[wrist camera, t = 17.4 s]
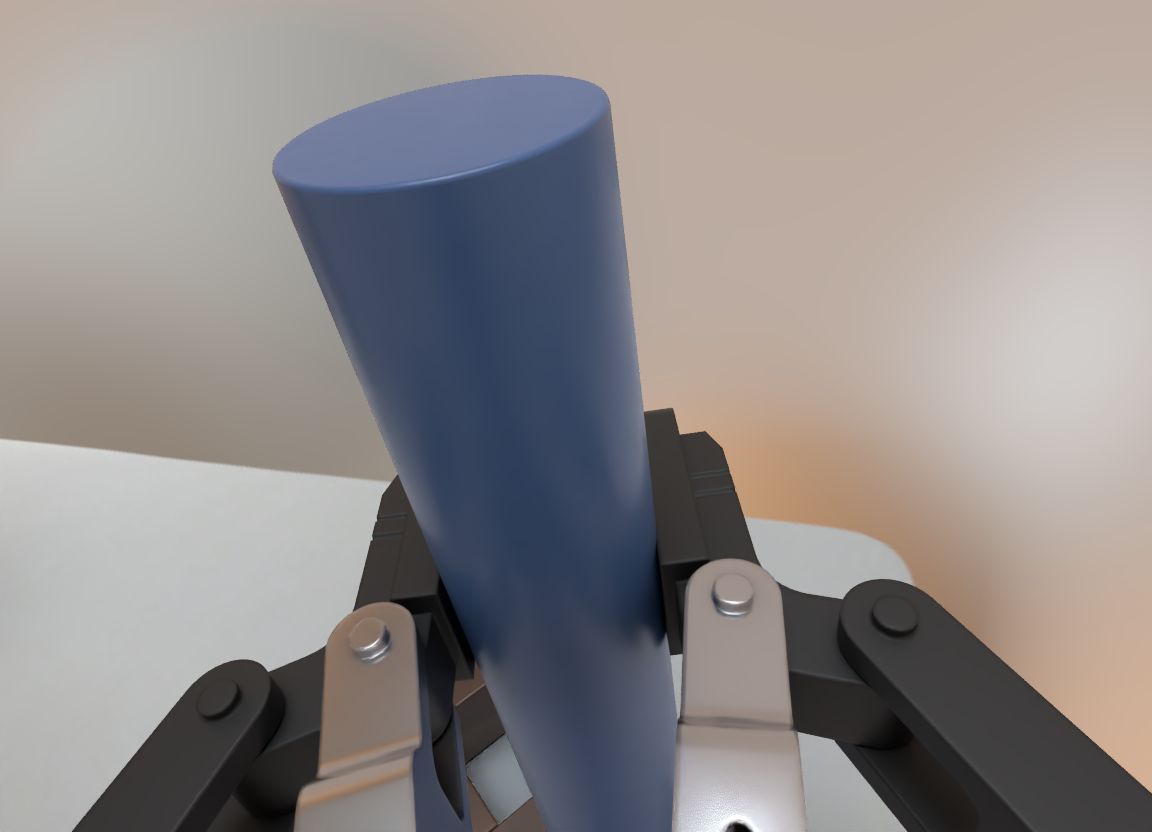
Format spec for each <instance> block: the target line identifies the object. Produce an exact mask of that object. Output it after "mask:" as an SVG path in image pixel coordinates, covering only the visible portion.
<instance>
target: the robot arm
mask: <svg viewBox="0 0 1152 832" xmlns="http://www.w3.org/2000/svg"><path fill="white" fill-rule="evenodd" d="M644 419H645V428H646V438H647V447H648V456H649V465H650V474H651V484H652V493H653V502H654V511H655V520H656V535H657V540H656V545H657V554H658V563H659V572H660V581H661V590H662V599H663V608H664V617H665V626H666V634H667V640H668V646H669V652H670V655H678V654H683V661H682V686H681V710H680V718H679V719H678V722H677V731H676V748H675V771H674V795H673V818H672V832H807V822H806V811H805V800H804V789H803V779H802V768H801V757H800V748H799V740H798V734H797V732H801V733H805V734H810V735H815V736H819V737H824V738H828V739H833V740H835V742H836V743H837V744H838V746H839V747H840V748H841V749H842V751H843V752H844V753H845V754H846V756H847V757H848V758H849V759H850V761H851V762H852V763H853V764H854V766H855V767H856V768H857V769H858V771H859V772H860V773H861V774H862V776H863V777H864V778H865V779H866V781H867V782H868V783H869V784H870V786H871V787H872V788H873V789H874V791H875V792H876V793H877V794H878V796H879V797H880V798H881V799H882V801H883V802H884V803H885V804H886V805H887V807H888V808H889V809H890V810H891V812H892V813H893V814H894V815H895V817H896V818H897V819H898V820H899V822H900V823H901V824H902V825H903V827H904V828H905V829H906V830H907V832H1152V793H1151V792H1149V791H1148V790H1147V789H1146V788H1145V787H1144V786H1142V785H1141V784H1140V783H1139V782H1138V781H1137V780H1136V779H1135V778H1134V777H1133V776H1131V775H1130V774H1129V773H1128V772H1127V771H1126V770H1125V769H1124V768H1122V767H1121V766H1120V765H1119V764H1118V763H1117V762H1116V761H1115V760H1114V759H1112V758H1111V757H1110V756H1109V755H1108V754H1107V753H1106V752H1104V751H1103V750H1102V749H1101V748H1100V747H1099V746H1098V745H1097V744H1096V743H1094V742H1093V741H1092V740H1091V739H1090V738H1089V737H1088V736H1086V735H1085V734H1084V733H1083V732H1082V731H1081V730H1080V729H1079V728H1078V727H1076V726H1075V725H1074V724H1073V723H1072V722H1071V721H1070V720H1069V719H1068V718H1066V717H1065V716H1064V715H1063V714H1062V713H1061V712H1060V711H1058V710H1057V709H1056V708H1055V707H1054V706H1053V705H1052V704H1051V703H1050V702H1048V701H1047V700H1046V699H1045V698H1044V697H1043V696H1042V695H1041V694H1039V693H1038V692H1037V691H1036V690H1035V689H1034V688H1033V687H1032V686H1030V685H1029V684H1028V683H1027V682H1026V681H1025V680H1024V679H1023V678H1022V677H1020V676H1019V675H1018V674H1017V673H1016V672H1015V671H1014V670H1013V669H1011V668H1010V667H1009V666H1008V665H1007V664H1006V663H1005V662H1004V661H1002V660H1001V659H1000V658H999V657H998V656H997V655H996V654H995V653H993V652H992V651H991V650H990V649H989V648H988V647H987V646H986V645H984V644H983V643H982V642H981V641H980V640H979V639H978V638H977V637H976V636H974V635H973V634H972V633H971V632H970V631H969V630H968V629H966V628H965V627H964V626H963V625H962V624H961V623H960V622H959V621H958V620H956V619H955V618H954V617H953V616H952V615H951V614H950V613H948V612H947V611H946V610H945V609H944V608H943V607H942V606H941V605H940V604H938V603H937V602H936V601H935V600H934V599H933V598H932V597H930V596H929V595H928V594H926V593H925V592H923V591H922V590H920V589H918V588H917V587H914V586H912V585H910V584H907V583H904V582H901V581H896V580H890V579H877V580H870V581H866V582H863V583H861V584H858V585H856V586H855V587H853V588H852V589H851V590H850V591H849V592H848V593H847V594H846V595H845V597H844V599H837V598H831V597H824V596H818V595H812V594H806V593H802V592H798V591H795V590H792V589H790V588H788V587H786V586H784V585H782V584H780V583H779V582H777V581H775V579H774V578H773V577H772V576H771V575H770V573H769V572H767V571H766V570H765V569H763V568H762V566H761V565H760V563H759V561H758V559H757V556H756V554H755V550H754V547H753V544H752V541H751V538H750V534H749V531H748V528H747V525H746V522H745V518H744V515H743V512H742V509H741V506H740V502H739V499H738V496H737V493H736V492H735V486H734V483H733V480H732V477H731V474H730V471H729V467H728V464H727V461H726V458H725V455H724V452H723V448H722V447H721V446H720V445H719V444H718V443H717V442H716V441H715V440H713V438H712V437H710V435H708V434H707V432H705V431H704V432H697V433H690V434H682V435H680V434H679V431H678V426H677V423H676V418H675V414H674V410H673V408H667V409H660V410H653V411H646V412H644ZM372 537H373V540H372V541H371V543H370V547H369V551H368V555H367V559H366V563H365V567H364V571H363V575H362V579H361V583H360V587H359V591H358V595H357V599H356V603H355V607H354V610H353V612H352V613H351V614H349V615H348V616H347V617H345V618H344V619H343V620H342V621H341V622H340V623H339V624H338V625H337V626H336V628H335V629H334V631H333V632H332V634H331V635H330V637H329V639H328V642H327V645H326V646H324V647H323V648H321V649H320V650H318V651H316V652H315V653H312V654H310V655H308V656H306V657H304V658H301V659H299V660H297V661H294V662H292V663H289V664H287V665H285V666H282V667H280V668H277V669H275V670H273V671H270V672H268V671H267V670H266V669H265V668H264V667H263V666H262V665H261V664H260V663H258V662H255V661H252V660H234V661H230V662H227V663H224V664H221V665H219V666H217V667H215V668H213V669H212V670H210V671H208V672H207V673H205V674H204V675H203V676H201V677H200V678H199V679H198V680H197V681H196V682H194V683H193V684H192V685H191V687H190V688H189V689H188V690H187V691H186V692H185V694H184V695H183V696H182V697H181V698H180V700H179V701H178V702H177V703H176V705H175V706H174V707H173V708H172V709H171V711H170V712H169V713H168V714H167V716H166V717H165V718H164V719H163V720H162V722H161V723H160V724H159V725H158V727H157V728H156V729H155V730H154V731H153V733H152V734H151V735H150V736H149V738H148V739H147V740H146V741H145V743H144V744H143V745H142V746H141V747H140V749H139V750H138V751H137V752H136V754H135V755H134V756H133V757H132V758H131V760H130V761H129V762H128V763H127V765H126V766H125V767H124V768H123V769H122V771H121V772H120V773H119V774H118V776H117V777H116V778H115V779H114V780H113V782H112V783H111V784H110V785H109V787H108V788H107V789H106V790H105V792H104V793H103V794H102V795H101V796H100V798H99V799H98V800H97V801H96V803H95V804H94V805H93V806H92V807H91V809H90V810H89V811H88V812H87V814H86V815H85V816H84V817H83V818H82V820H81V821H80V822H79V823H78V825H77V826H76V827H75V828H74V829H73V831H72V832H473V828H472V821H471V812H470V803H469V794H468V785H467V776H466V767H465V758H464V749H463V739H462V730H461V721H460V715H459V712H458V710H457V707H456V705H455V703H454V701H453V695H454V685H455V682H456V681H464V680H472V679H474V671H475V658H474V655H473V653H472V650H471V648H470V646H469V643H468V641H467V638H466V636H465V634H464V631H463V629H462V626H461V624H460V622H459V619H458V617H457V614H456V612H455V610H454V607H453V605H452V603H451V600H450V598H449V595H448V593H447V591H446V588H445V586H444V583H443V581H442V579H441V576H440V574H439V571H438V569H437V567H436V564H435V562H434V559H433V557H432V555H431V552H430V550H429V547H428V545H427V543H426V540H425V538H424V535H423V533H422V531H421V528H420V526H419V523H418V521H417V519H416V516H415V514H414V511H413V509H412V507H411V504H410V502H409V499H408V497H407V495H406V492H405V490H404V487H403V485H402V483H401V480H400V478H399V475H397V476H396V477H395V479H394V480H393V481H392V483H391V484H390V485H389V487H388V488H387V489H386V491H385V492H384V493H383V495H382V498H381V502H380V506H379V510H378V514H377V522H375V526H374V530H373V535H372Z"/></svg>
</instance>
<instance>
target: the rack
mask: <svg viewBox="0 0 1152 832" xmlns="http://www.w3.org/2000/svg"><path fill="white" fill-rule="evenodd" d="M453 701H454V703H455V705H456V707H457V710H458V712H459V715H460V721H461V730H462V739H463V749H464V758H465V764H466V763H467V762H468V761H469V760H471V759H472V758H473V757H475V756H476V755H477V754H478V753H480V752H481V751H482V750H483V749H485V748H486V747H487V746H488V745H490V744H491V743H492V742H494V741H495V740H496V739H497V738H499V737H500V736H501V735H502V734H504V733H505V730H504V727H503V725H502V722H501V720H500V718H499V715H498V713H497V710H496V708H495V706H494V703H493V701H492V698H491V696H490V694H489V691H488V689H487V686H486V684H485V682H484V679H483V677H482V674H481V672H480V670H479V667H478V665H477V662H476V660H475V671H474V679H472V680H464V681H456V682H455V685H454V695H453ZM466 776H467V774H466ZM467 785H468V794H469V803H470V812H471V821H472V828H473V832H547V830H546V828H545V826H544V823H543V821H542V818H541V816H540V814H539V811H538V809H537V806H536V804H535V802H534V799H533V797H531V798H530V799H529V800H528V801H527V802H526V803H524V804H523V805H522V806H521V807H520V808H518V809H517V810H516V811H515V812H514V813H513V814H511V815H510V816H509V817H508V818H507V819H506V820H504V821H503V822H502V823H501V824H500V825H498V823H497V821H496V820H495V818H494V817H493V815H492V814H491V812H490V810H489V809H488V807H487V806H486V804H485V803H484V801H483V799H482V798H481V796H480V795H479V793H478V792H477V790H476V788H475V787H474V785H473V784H472V782H471V781H470V779H469V778H468V776H467Z"/></svg>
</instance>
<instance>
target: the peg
mask: <svg viewBox="0 0 1152 832" xmlns="http://www.w3.org/2000/svg"><path fill="white" fill-rule="evenodd" d="M272 173H273V175H274V178H275V180H276V183H277V185H278V187H279V190H280V192H281V195H282V197H283V200H284V202H285V204H286V207H287V209H288V212H289V214H290V216H291V219H292V221H293V224H294V226H295V228H296V231H297V233H298V236H299V238H300V240H301V243H302V245H303V247H304V250H305V252H306V255H307V257H308V259H309V262H310V264H311V267H312V269H313V272H314V274H315V276H316V279H317V281H318V283H319V286H320V288H321V291H322V293H323V295H324V298H325V300H326V303H327V305H328V307H329V310H330V312H331V315H332V317H333V319H334V322H335V324H336V327H337V329H338V331H339V334H340V336H341V338H342V341H343V343H344V346H345V348H346V351H347V353H348V355H349V358H350V360H351V363H352V365H353V367H354V370H355V372H356V375H357V377H358V379H359V382H360V384H361V386H362V389H363V391H364V394H365V396H366V399H367V401H368V403H369V406H370V408H371V411H372V413H373V415H374V418H375V420H376V422H377V425H378V427H379V430H380V432H381V434H382V437H383V439H384V442H385V444H386V447H387V449H388V451H389V454H390V456H391V458H392V461H393V463H394V466H395V468H396V471H397V473H398V475H399V478H400V480H401V483H402V485H403V487H404V490H405V492H406V495H407V497H408V499H409V502H410V504H411V507H412V509H413V511H414V514H415V516H416V519H417V521H418V523H419V526H420V528H421V531H422V533H423V535H424V538H425V540H426V543H427V545H428V547H429V550H430V552H431V555H432V557H433V559H434V562H435V564H436V567H437V569H438V571H439V574H440V576H441V579H442V581H443V583H444V586H445V588H446V591H447V593H448V595H449V598H450V600H451V603H452V605H453V607H454V610H455V612H456V614H457V617H458V619H459V622H460V624H461V626H462V629H463V631H464V634H465V636H466V638H467V641H468V643H469V646H470V648H471V650H472V653H473V655H474V658H475V660H476V662H477V665H478V667H479V670H480V672H481V674H482V677H483V679H484V682H485V684H486V686H487V689H488V691H489V694H490V696H491V698H492V701H493V703H494V706H495V708H496V710H497V713H498V715H499V718H500V720H501V722H502V725H503V727H504V730H505V732H506V734H507V737H508V739H509V742H510V744H511V746H512V749H513V751H514V754H515V756H516V758H517V761H518V763H519V766H520V768H521V770H522V773H523V775H524V778H525V780H526V782H527V785H528V787H529V790H530V792H531V794H532V797H533V799H534V802H535V804H536V806H537V809H538V811H539V814H540V816H541V818H542V821H543V823H544V826H545V828H546V830H547V832H672V818H673V795H674V771H675V748H676V731H677V714H676V705H675V695H674V686H673V677H672V668H671V659H670V652H669V646H668V640H667V634H666V626H665V617H664V608H663V599H662V590H661V581H660V572H659V563H658V554H657V545H656V540H657V535H656V520H655V511H654V502H653V493H652V484H651V474H650V465H649V456H648V447H647V438H646V428H645V419H644V410H643V401H642V392H641V382H640V373H639V364H638V355H637V346H636V336H635V327H634V318H633V309H632V299H631V290H630V282H629V272H628V263H627V254H626V244H625V235H624V226H623V217H622V207H621V199H620V190H619V180H618V171H617V161H616V153H615V143H614V134H613V125H612V116H611V106H610V101H609V98H608V96H607V94H606V92H604V90H603V89H602V88H601V87H599V86H597V85H595V84H594V83H591V82H588V81H585V80H580V79H576V78H571V77H564V76H553V75H512V76H499V77H490V78H481V79H473V80H466V81H460V82H454V83H448V84H443V85H438V86H433V87H429V88H424V89H420V90H415V91H411V92H407V93H403V94H400V95H396V96H392V97H389V98H385V99H382V100H379V101H375V102H372V103H369V104H366V105H363V106H360V107H358V108H355V109H352V110H350V111H347V112H344V113H342V114H339V115H337V116H335V117H332V118H330V119H328V120H326V121H324V122H322V123H320V124H317V125H316V126H314V127H312V128H310V129H308V130H306V131H305V132H303V133H302V134H300V135H299V136H297V137H296V138H294V139H293V140H291V141H290V142H289V143H288V144H286V145H285V146H284V147H283V148H282V149H281V150H280V151H279V152H278V153H277V155H276V156H275V158H274V160H273V170H272Z"/></svg>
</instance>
